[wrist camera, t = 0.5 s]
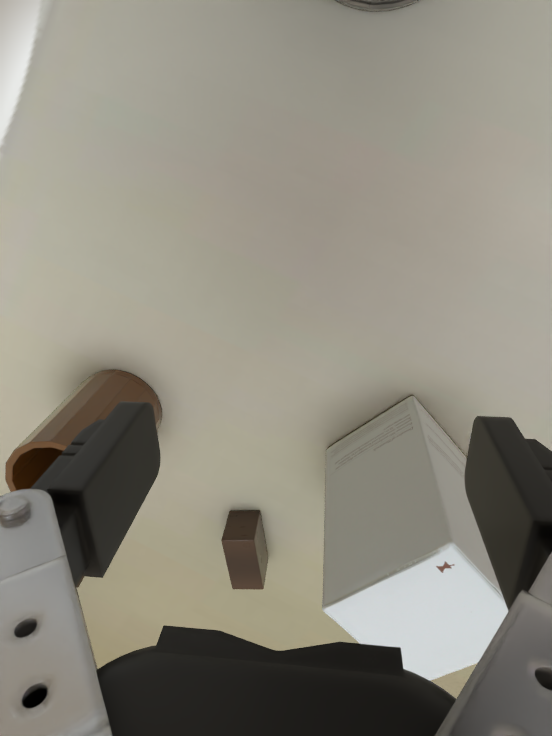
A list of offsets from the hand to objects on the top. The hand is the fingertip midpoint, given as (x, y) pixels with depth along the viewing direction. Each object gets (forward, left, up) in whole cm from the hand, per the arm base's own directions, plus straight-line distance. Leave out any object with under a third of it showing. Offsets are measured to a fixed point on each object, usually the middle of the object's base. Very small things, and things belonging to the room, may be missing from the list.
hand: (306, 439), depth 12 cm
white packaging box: (+14, +4, -18) cm, 23 cm away
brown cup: (+9, -15, -18) cm, 25 cm away
